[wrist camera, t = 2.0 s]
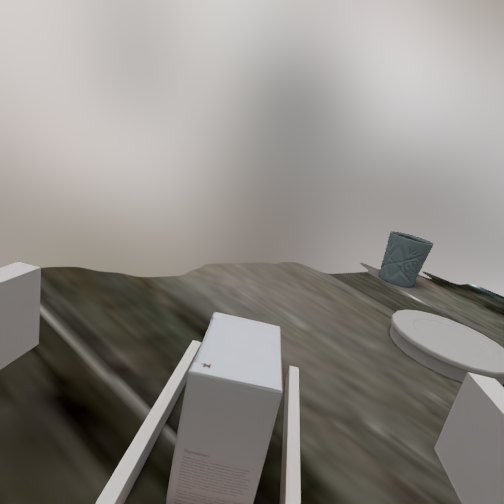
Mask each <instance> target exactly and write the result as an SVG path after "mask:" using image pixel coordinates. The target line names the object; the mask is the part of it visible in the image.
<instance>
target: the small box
mask: <svg viewBox="0 0 504 504" xmlns="http://www.w3.org/2000/svg"><path fill="white" fill-rule="evenodd" d="M282 394H283V377H282V350H281V327H279V326H275V325H271V324H267V323H262V322H258V321H253V320H249V319H245V318H240V317H236V316H231V315H227V314H222V313H218V312H215V313H213V316H212V319H211V322H210V325H209V327H208V330H207V332H206V334H205V337H204V339H203V342H202V344H201V346H200V349H199V351H198V353H197V355H196V357H195V360H194V361H193V363H192V365H191V367H190V369H189V371H188V376H187V383H186V388H185V394H184V400H183V406H182V411H181V417H180V422H179V427H178V433H177V439H176V444H175V450H174V456H173V462H172V468H171V474H170V480H169V486H168V492H167V499H166V504H253V503H254V499H255V495H256V491H257V488H258V484H259V480H260V476H261V473H262V469H263V465H264V461H265V458H266V454H267V450H268V446H269V442H270V439H271V435H272V431H273V427H274V423H275V420H276V416H277V412H278V409H279V405H280V401H281V398H282Z"/></svg>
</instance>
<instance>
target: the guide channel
mask: <svg viewBox="0 0 504 504" xmlns="http://www.w3.org/2000/svg"><path fill="white" fill-rule="evenodd" d="M200 346H201V342H198V341H194V340H193V341H192V343H191V344H190V346H189V348H188V349H187V351H186V353H185V354H184V356H183V358H182V359H181V361H180V363H179V364H178V366H177V368H176V369H175V371H174V373H173V374H172V376H171V378H170V379H169V381H168V383H167V384H166V386H165V388H164V389H163V391H162V393H161V394H160V396H159V398H158V399H157V401H156V403H155V404H154V406H153V408H152V409H151V411H150V413H149V415H148V416H147V418H146V420H145V421H144V423H143V425H142V426H141V428H140V430H139V431H138V433H137V435H136V436H135V438H134V440H133V441H132V443H131V445H130V446H129V448H128V450H127V451H126V453H125V455H124V456H123V458H122V460H121V461H120V463H119V465H118V466H117V468H116V470H115V471H114V473H113V475H112V476H111V478H110V480H109V481H108V483H107V485H106V486H105V488H104V490H103V491H102V493H101V495H100V496H99V498H98V500H97V501H96V503H95V504H124V503H125V501H126V499H127V497H128V495H129V493H130V491H131V489H132V487H133V485H134V483H135V481H136V479H137V477H138V475H139V473H140V471H141V470H142V468H143V466H144V464H145V462H146V460H147V458H148V456H149V454H150V452H151V450H152V448H153V446H154V444H155V442H156V440H157V438H158V436H159V434H160V432H161V430H162V428H163V427H164V425H165V423H166V421H167V419H168V417H169V415H170V413H171V411H172V409H173V407H174V405H175V403H176V401H177V399H178V397H179V395H180V393H181V391H182V389H183V387H184V385H185V384H186V382H187V376H188V371H189V369H190V367H191V365H192V363H193V361H194V360H195V357H196V355H197V353H198V351H199V349H200ZM279 504H301V489H300V423H299V368H297V367H293V366H289V370H288V373H287V377H286V380H285V400H284V420H283V441H282V462H281V483H280V503H279Z"/></svg>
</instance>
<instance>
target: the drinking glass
mask: <svg viewBox="0 0 504 504" xmlns="http://www.w3.org/2000/svg"><path fill="white" fill-rule="evenodd" d="M432 246H433V243H431V242H430V241H427V240H424V239H422V238H419V237H415V236H412V235H408V234H404V233H399V232H390V236H389V240H388V244H387V248H386V252H385V255H384V260H383V263H382V266H381V269H380V272H379V277H380V278H381V279H382V280H384V281H386V282H389V283H391V284H394V285H397V286H401V287H408V288H409V287H412V286H413V284H414V282H415V280H416V278H417V276H418V273H419V272H420V270H421V268H422V265H423V263H424V262H425V260H426V258H427V256H428V254H429V252H430V250H431V248H432Z"/></svg>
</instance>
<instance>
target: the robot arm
mask: <svg viewBox="0 0 504 504" xmlns="http://www.w3.org/2000/svg"><path fill="white" fill-rule="evenodd" d="M40 280H41V267H37V266H33V265H29V264H25V263H21V262H17V263H14V264H11V265H8V266H5V267H1V268H0V370H1V369H2V368H3V367H5V366H6V365H8V364H9V363H11V362H12V361H14V360H15V359H17V358H18V357H20V356H21V355H23V354H24V353H26V352H27V351H29V350H30V349H32V348H33V347H35V346H36V345H38V344H39V315H40ZM434 449H435V451H436V453H437V455H438V457H439V459H440V461H441V463H442V465H443V467H444V469H445V471H446V473H447V475H448V477H449V479H450V481H451V483H452V485H453V487H454V489H455V491H456V493H457V495H458V497H459V499H460V501H461V503H462V504H504V387H503V386H502V385H501V384H500V383H499V382H498V381H497V380H496V379H494V378H490V377H486V376H482V375H478V374H474V373H470V372H467V374H466V376H465V379H464V381H463V383H462V386H461V388H460V390H459V392H458V395H457V397H456V399H455V402H454V404H453V406H452V408H451V411H450V413H449V415H448V418H447V420H446V422H445V425H444V427H443V429H442V431H441V434H440V436H439V438H438V441H437V443H436V445H435V447H434Z"/></svg>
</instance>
